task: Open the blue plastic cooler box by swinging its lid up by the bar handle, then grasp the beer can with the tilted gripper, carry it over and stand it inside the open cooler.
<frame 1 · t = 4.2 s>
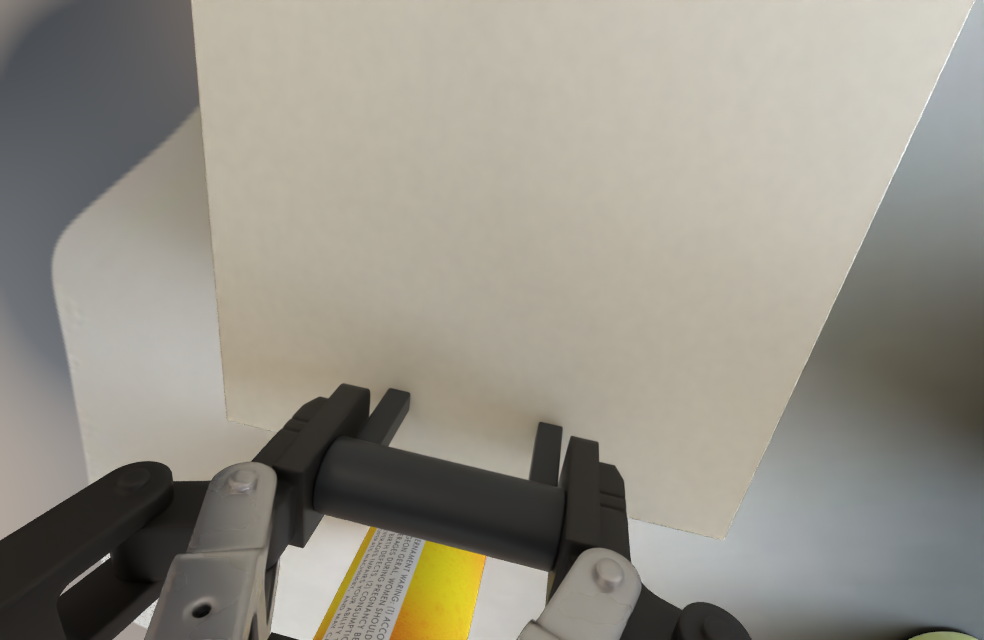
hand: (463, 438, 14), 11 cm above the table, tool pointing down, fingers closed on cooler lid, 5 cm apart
beer can: (445, 494, 30), on the table
cooler lid: (496, 206, 11), point 12 cm above the table, hinge at 0.0°, touching gripper
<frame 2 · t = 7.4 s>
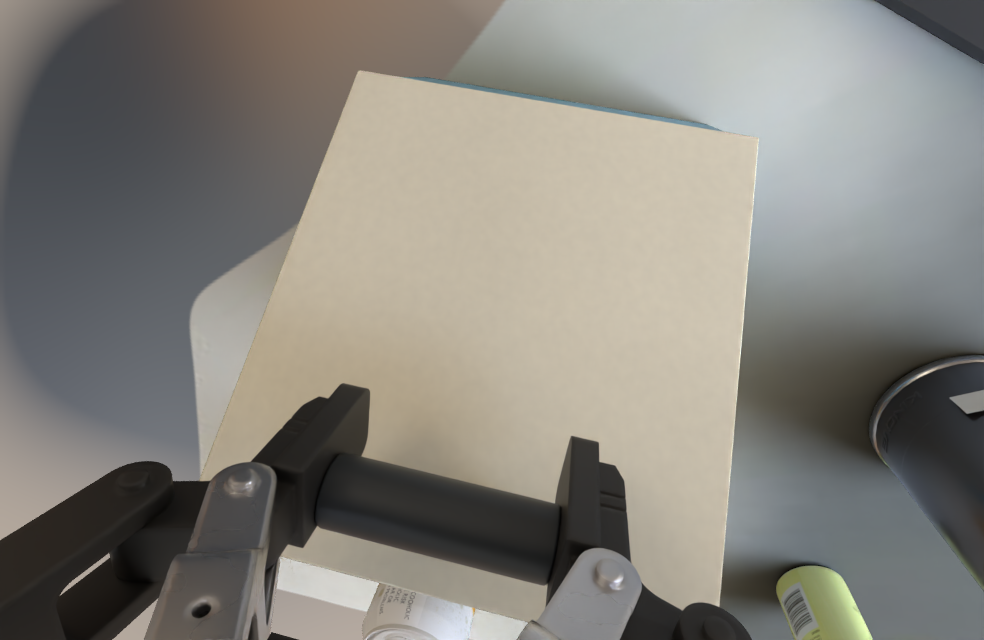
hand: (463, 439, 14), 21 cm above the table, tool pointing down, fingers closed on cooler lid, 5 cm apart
cooler: (535, 243, 33), on the table
beer can: (466, 473, 42), on the table
cooler lid: (501, 292, 16), point 17 cm above the table, hinge at 44.0°, touching gripper
tube: (807, 585, 41), on the table
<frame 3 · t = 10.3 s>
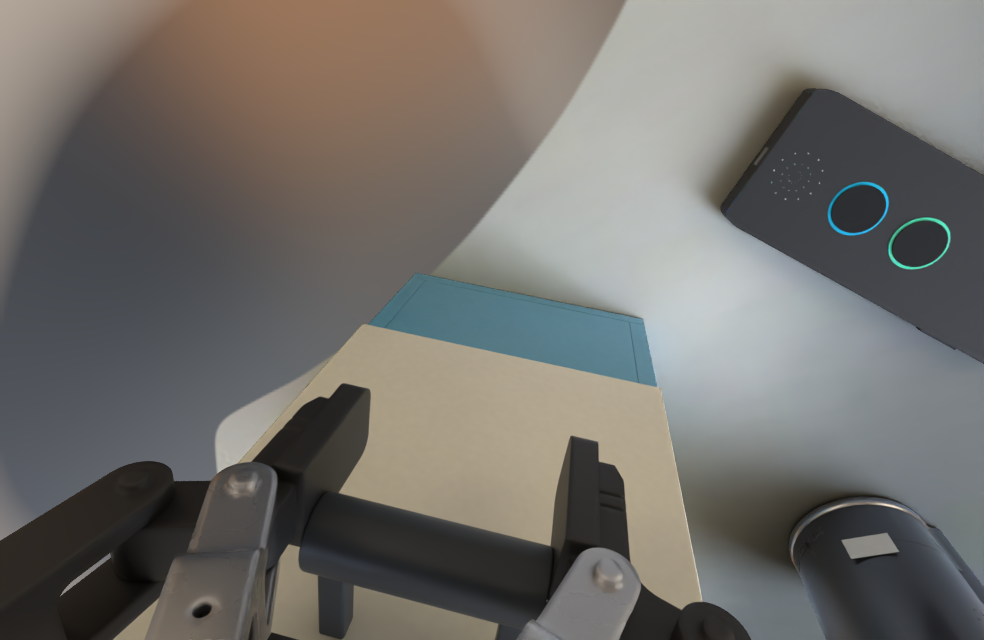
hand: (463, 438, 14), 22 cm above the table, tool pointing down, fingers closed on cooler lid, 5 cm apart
cooler: (507, 396, 40), on the table
smart home device: (905, 233, 30), on the table
cooler lid: (477, 435, 19), point 18 cm above the table, hinge at 88.3°, touching gripper
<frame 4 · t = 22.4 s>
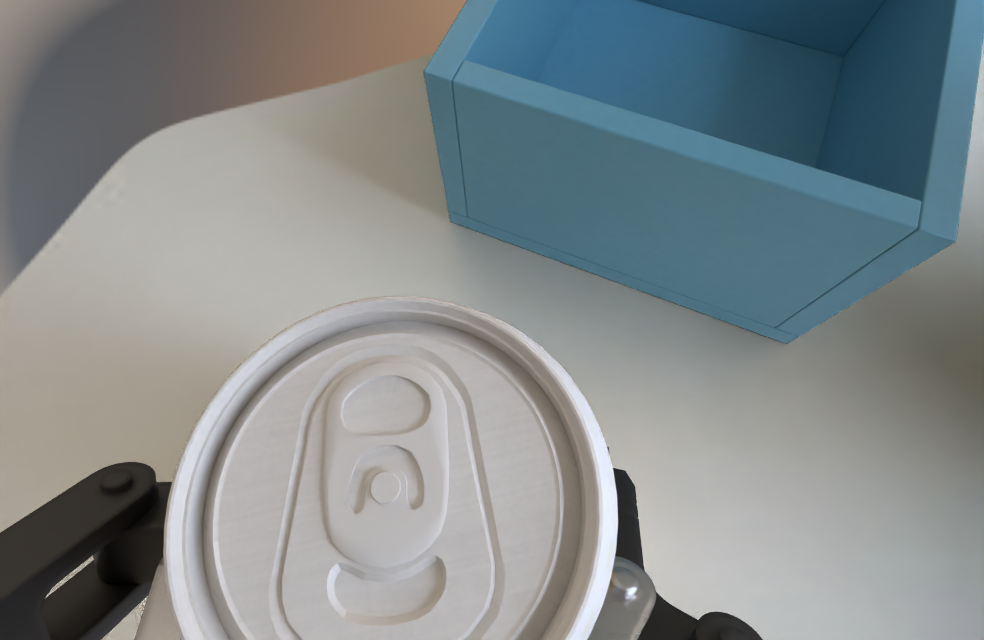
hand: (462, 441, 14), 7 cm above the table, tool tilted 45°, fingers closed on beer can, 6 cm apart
cooler: (663, 139, 26), on the table
beer can: (466, 509, 20), on the table, touching gripper
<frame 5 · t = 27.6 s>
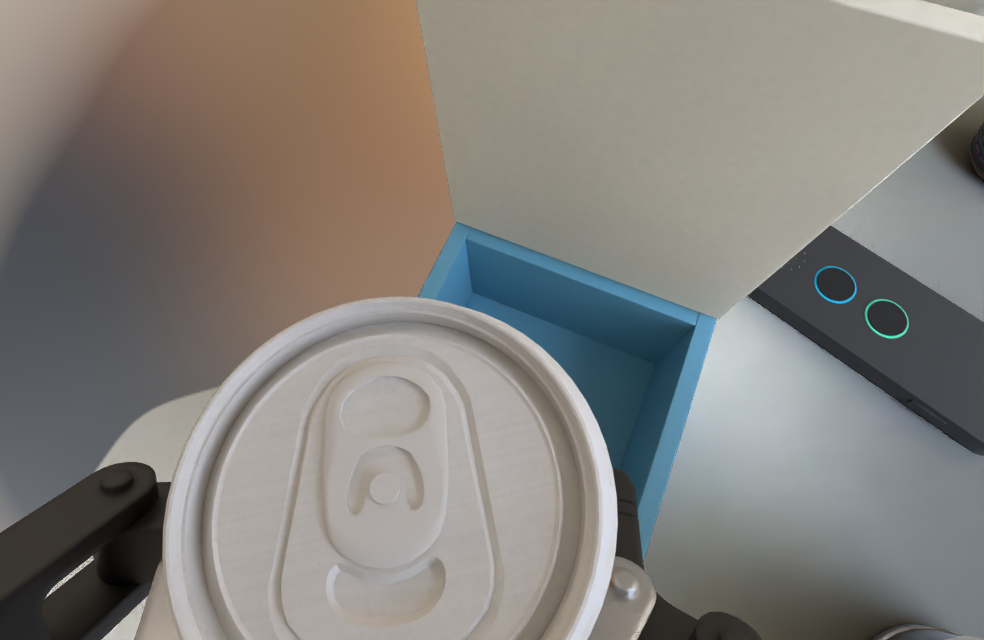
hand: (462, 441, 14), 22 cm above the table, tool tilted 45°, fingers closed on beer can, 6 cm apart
cooler: (520, 426, 36), on the table
smart home device: (872, 326, 38), on the table
beer can: (466, 509, 20), point 14 cm above the table, touching gripper
cooler lid: (632, 127, 22), point 18 cm above the table, hinge at 88.8°
when the fingers open (8 cm above the table, at t = 32.8 s): beer can stays where it is, resting on cooler.
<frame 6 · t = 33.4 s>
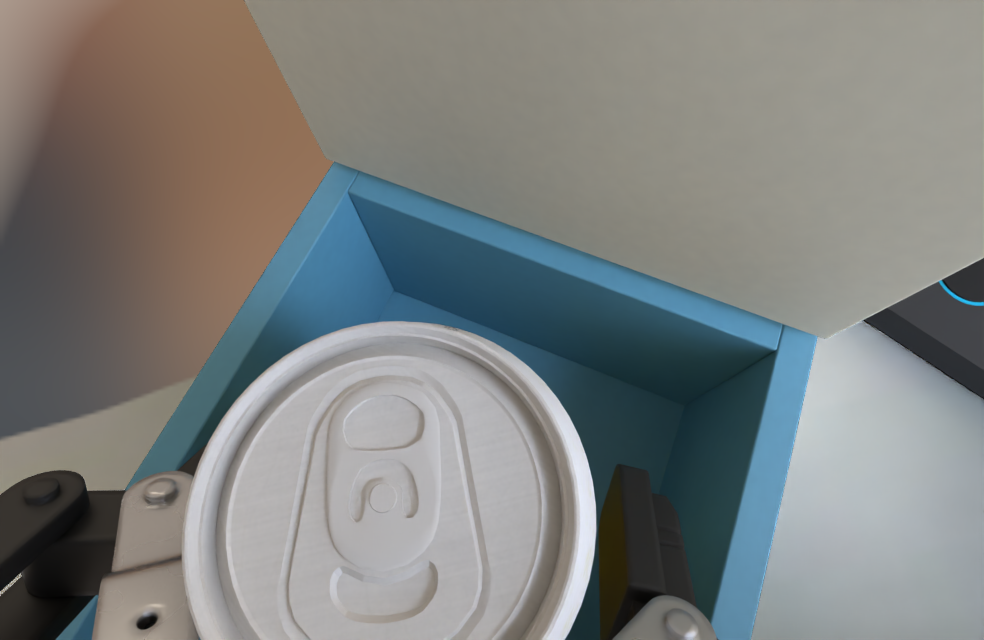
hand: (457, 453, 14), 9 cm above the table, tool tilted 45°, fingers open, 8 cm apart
cooler: (465, 509, 22), on the table
beer can: (461, 512, 21), point 1 cm above the table, touching cooler
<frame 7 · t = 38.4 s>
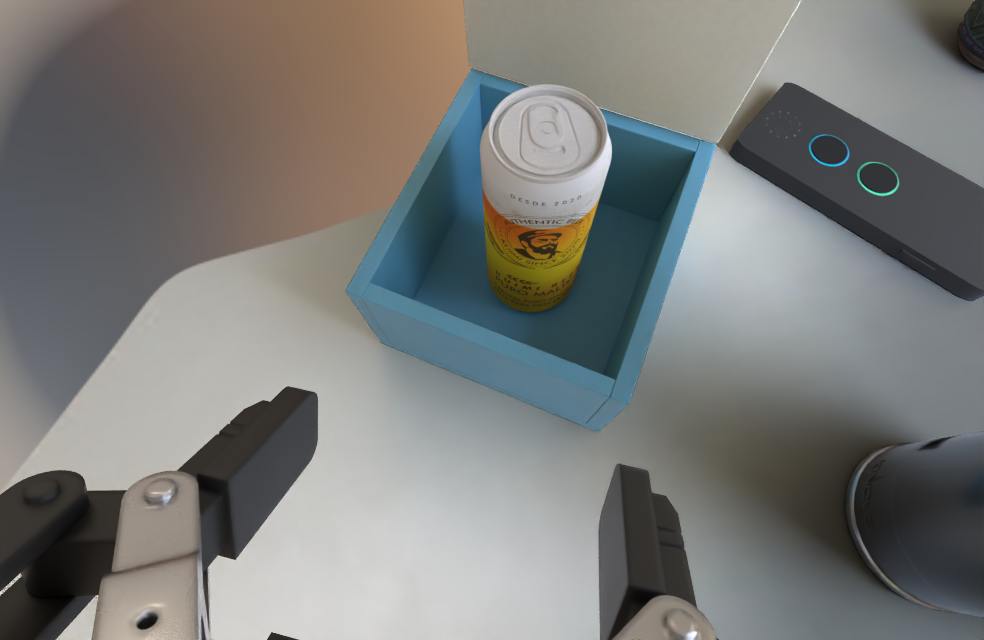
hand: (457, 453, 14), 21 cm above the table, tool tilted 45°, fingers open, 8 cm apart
cooler: (531, 280, 38), on the table
mate gourd: (982, 54, 45), on the table
smart home device: (864, 191, 40), on the table
beer can: (530, 277, 37), point 1 cm above the table, touching cooler
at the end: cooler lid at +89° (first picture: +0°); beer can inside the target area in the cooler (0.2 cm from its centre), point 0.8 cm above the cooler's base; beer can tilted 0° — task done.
